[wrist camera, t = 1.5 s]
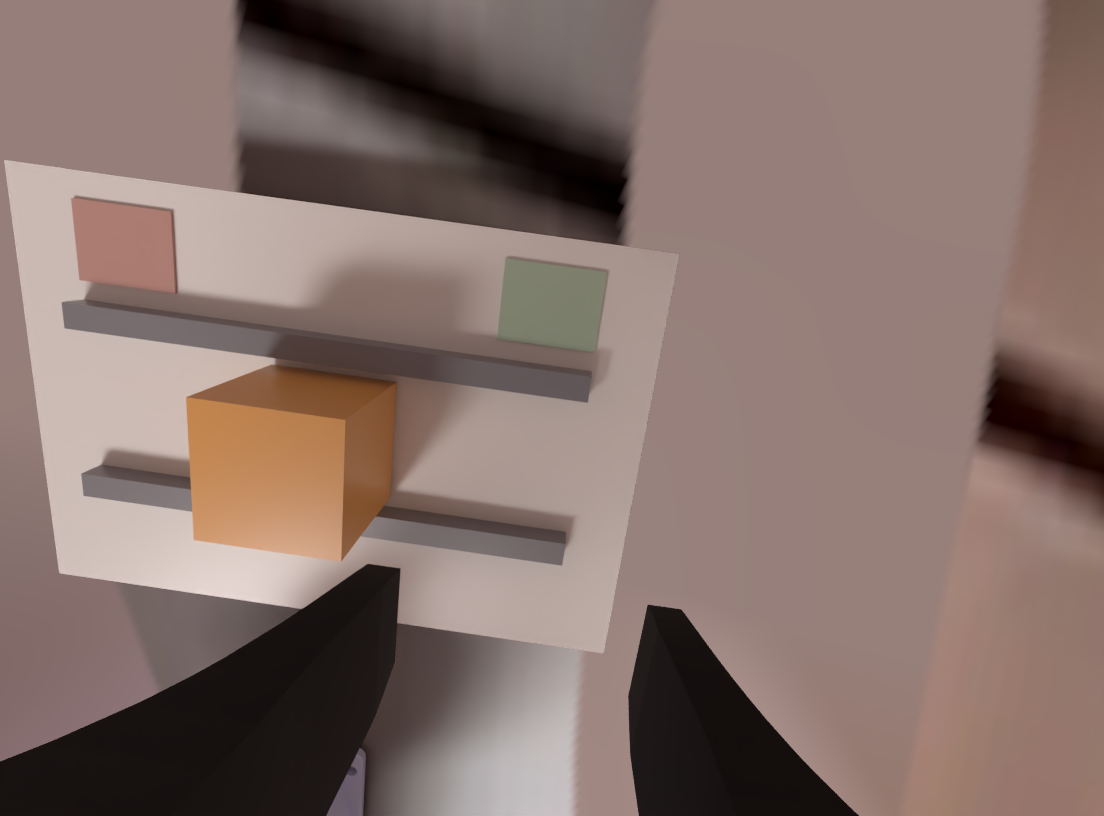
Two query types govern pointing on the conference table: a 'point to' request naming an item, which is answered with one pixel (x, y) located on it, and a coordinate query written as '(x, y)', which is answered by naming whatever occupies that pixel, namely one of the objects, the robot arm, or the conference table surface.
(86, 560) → the plate
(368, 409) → the orange cube
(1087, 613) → the conference table surface
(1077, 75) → the conference table surface
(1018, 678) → the conference table surface
